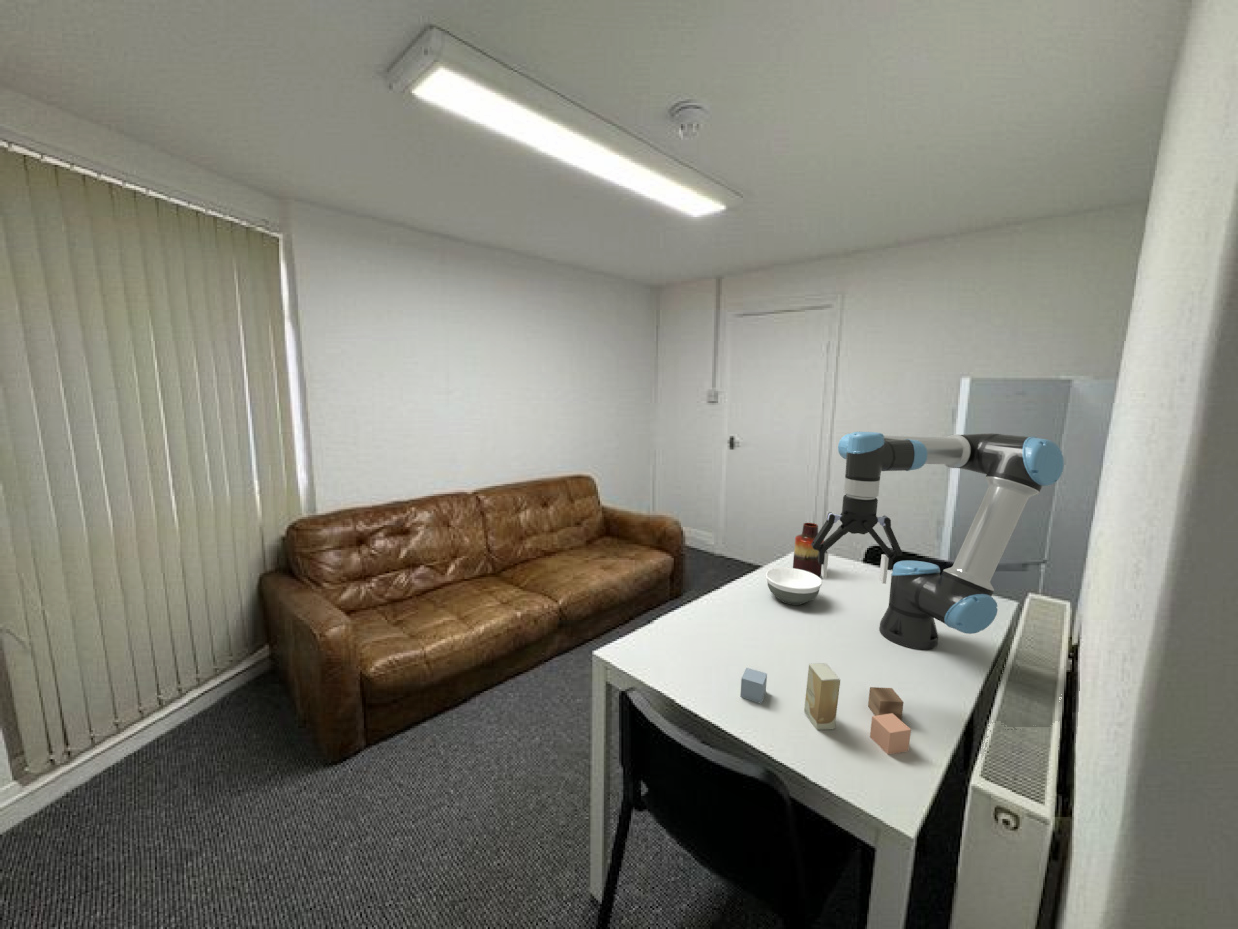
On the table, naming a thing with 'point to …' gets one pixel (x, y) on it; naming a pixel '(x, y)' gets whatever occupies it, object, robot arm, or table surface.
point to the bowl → (793, 585)
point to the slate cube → (753, 685)
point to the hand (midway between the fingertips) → (852, 579)
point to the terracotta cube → (890, 733)
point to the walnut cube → (885, 702)
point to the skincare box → (822, 696)
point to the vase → (807, 550)
